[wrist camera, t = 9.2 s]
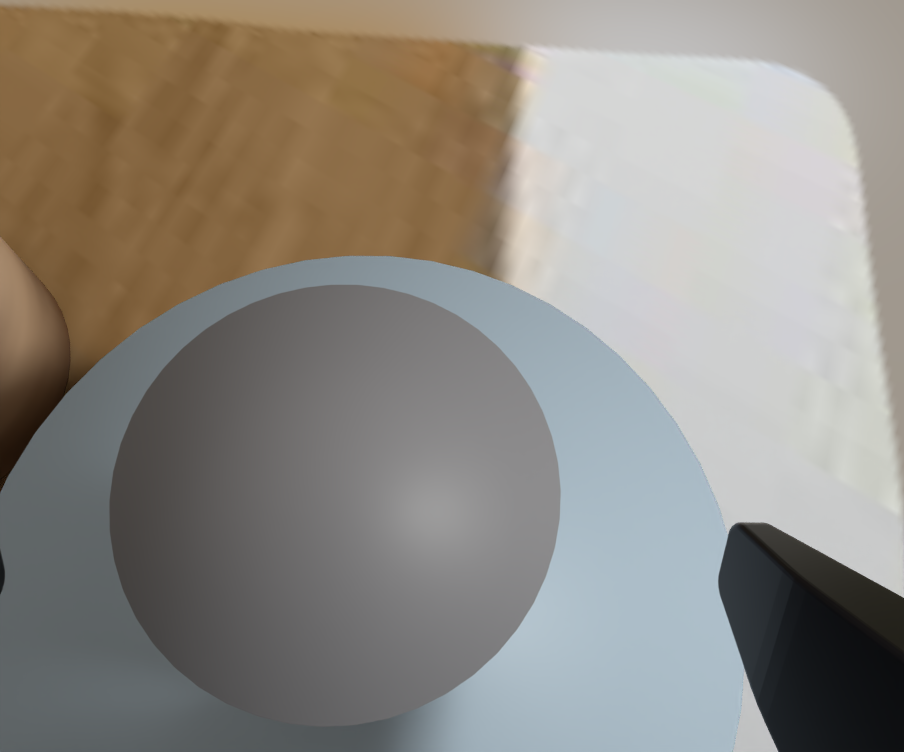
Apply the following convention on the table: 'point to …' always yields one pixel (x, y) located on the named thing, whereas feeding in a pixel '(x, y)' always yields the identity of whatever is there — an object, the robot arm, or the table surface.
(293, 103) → the table surface
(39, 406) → the stone
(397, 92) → the table surface
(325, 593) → the lid
